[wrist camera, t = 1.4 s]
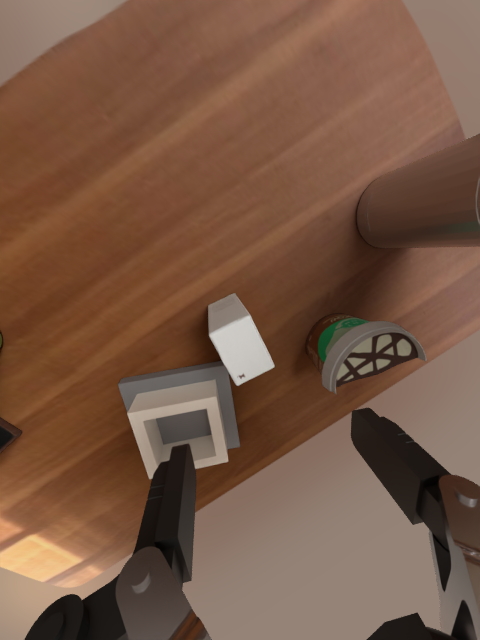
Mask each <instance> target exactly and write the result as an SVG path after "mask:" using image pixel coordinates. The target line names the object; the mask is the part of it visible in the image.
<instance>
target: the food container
mask: <svg viewBox="0 0 480 640" xmlns="http://www.w3.org/2000/svg"><path fill="white" fill-rule="evenodd" d="M306 351H307V355H308V356H309V357H310V359H311V360H312V362H313V363H314V365H315V366H316V368H317V369H318V371H319V372H320V373H321V375H322V385H323V386H324V387H325V388H326V389H328V390H329V391H330V392H331V391H333V392H334V393H335V394H336V387H339V386H341V385H343V384H345V383H348V382H351V381H354V380H357V379H361V378H365V377H370V376H373V375H377V374H379V373H382V372H384V371H386V370H388V369H390V368H391V367H394V366H396V365H398V364H401V363H403V362H406V361H409V360H412V359H415V358H419V359H421V360H424V361H426V355H425V352H424V349H423V347H422V346H421V344H420V343H419V342H418V340H417V339H416V338H415V337H414V336H413V335H412V334H410V333H409V332H408V331H406V330H405V329H403V328H402V327H400V326H399V325H397V324H394V323H391V322H387V321H374V322H370V321H366V320H363V319H360V318H357V317H353V316H350V315H346V314H343V313H335V314H330V315H328V316H325V317H324V318H322V319H320V320H319V321H318V322H317V323H316V324H315V325H314V326H313V328H312V329H311V331H310V333H309V335H308V338H307V342H306Z"/></svg>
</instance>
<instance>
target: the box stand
mask: <svg viewBox="0 0 480 640" xmlns="http://www.w3.org/2000/svg"><path fill="white" fill-rule="evenodd" d="M118 386H119V389H120V392H121V395H122V398H123V401H124V404H125V407H126V410H127V414H128V417H129V420H130V423H131V426H132V429H133V432H134V435H135V438H136V441H137V444H138V447H139V450H140V453H141V456H142V459H143V462H144V465H145V468H146V471H147V474H148V477H149V479H152V478H153V474H154V472H155V471H156V469H157V468H158V466H159V464H160V463H161V462H165V461H169V459H170V454H171V449H172V447H173V446H178V445H183V444H188V443H189V445H190V448H191V452H192V456H193V461H194V465H195V469H198V468H202V467H207V466H211V465H216V464H220V463H225V462H228V452H227V449H231V448H236V447H240V442H239V436H238V430H237V423H236V417H235V411H234V404H233V398H232V392H231V386H230V379H229V373H228V370H227V368H226V366H225V365H224V363H223V362H222V361H218V362H212V363H206V364H201V365H195V366H189V367H184V368H178V369H172V370H167V371H161V372H156V373H150V374H144V375H139V376H133V377H127V378H122V379H121V381H120V382H119V383H118Z"/></svg>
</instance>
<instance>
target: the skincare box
mask: <svg viewBox="0 0 480 640" xmlns="http://www.w3.org/2000/svg"><path fill="white" fill-rule="evenodd" d="M208 326H209V337H210V339H211V341H212V342H213V344H214V346H215V348H216V350H217V351H218V353H219V355H220V357H221V360H222V362H223V363H224V365H225V366H226V368H227V370H228V372H229V374H230V375H231V377H232V379H233V381H234V382H235V384H236V385H237V386H239V385H241V384H242V383H244V382H246V381H248V380H250V379H252V378H254V377H256V376H258V375H260V374H262V373H264V372H266V371H268V370H270V369H272V368H274V367H275V366H274V363H273V361H272V359H271V356H270V354H269V352H268V350H267V348H266V346H265V344H264V342H263V340H262V338H261V336H260V334H259V332H258V330H257V328H256V326H255V324H254V322H253V320H252V318H251V316H250V314H249V313H248V311H247V310H246V308H245V307H244V305H243V304H242V303H241V301H240V300H239V298H238V297H237V296H236V294H235V293H233V294H231V295H229V296H227V297H225V298H223V299H221V300H219V301H216V302H214V303H212V304H210V305H208Z"/></svg>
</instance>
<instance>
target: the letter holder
mask: <svg viewBox="0 0 480 640" xmlns="http://www.w3.org/2000/svg"><path fill="white" fill-rule="evenodd" d="M21 433H22V431H21V430H19V429H18V428H16V427H14V426H13V425H11V424H10V423H8V422H6V421H5V420H3V419H2V418H0V453H1V452H2V451H3V450H4V449H5V448H6V447H7V446H8V445H10V444H11V443H12V442H13V441H14V440H15V439H16V438H17V437H18V436H20V435H21Z"/></svg>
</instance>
